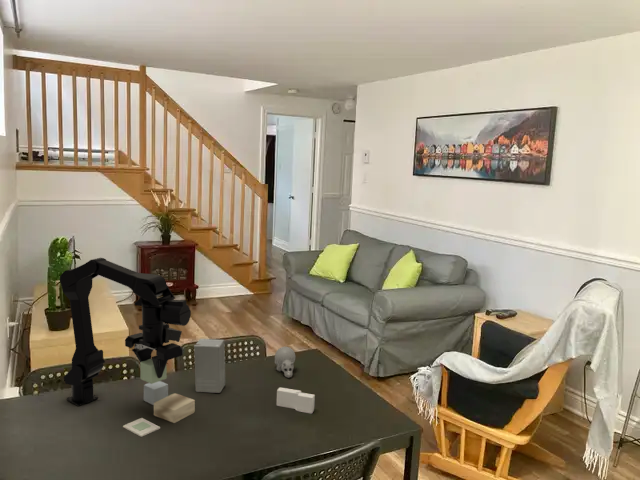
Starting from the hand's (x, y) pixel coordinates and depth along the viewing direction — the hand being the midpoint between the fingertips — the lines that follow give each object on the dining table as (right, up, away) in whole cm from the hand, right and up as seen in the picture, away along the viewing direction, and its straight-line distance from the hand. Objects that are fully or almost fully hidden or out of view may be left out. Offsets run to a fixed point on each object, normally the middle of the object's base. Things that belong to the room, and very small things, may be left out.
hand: (153, 375), depth 151 cm
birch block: (+5, -12, +3) cm, 13 cm away
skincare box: (+12, -10, +20) cm, 25 cm away
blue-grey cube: (-3, -10, +11) cm, 15 cm away
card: (-1, -13, -6) cm, 14 cm away
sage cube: (0, -1, 0) cm, 1 cm away
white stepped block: (+39, -13, +10) cm, 43 cm away
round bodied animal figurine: (+35, -9, +37) cm, 51 cm away
